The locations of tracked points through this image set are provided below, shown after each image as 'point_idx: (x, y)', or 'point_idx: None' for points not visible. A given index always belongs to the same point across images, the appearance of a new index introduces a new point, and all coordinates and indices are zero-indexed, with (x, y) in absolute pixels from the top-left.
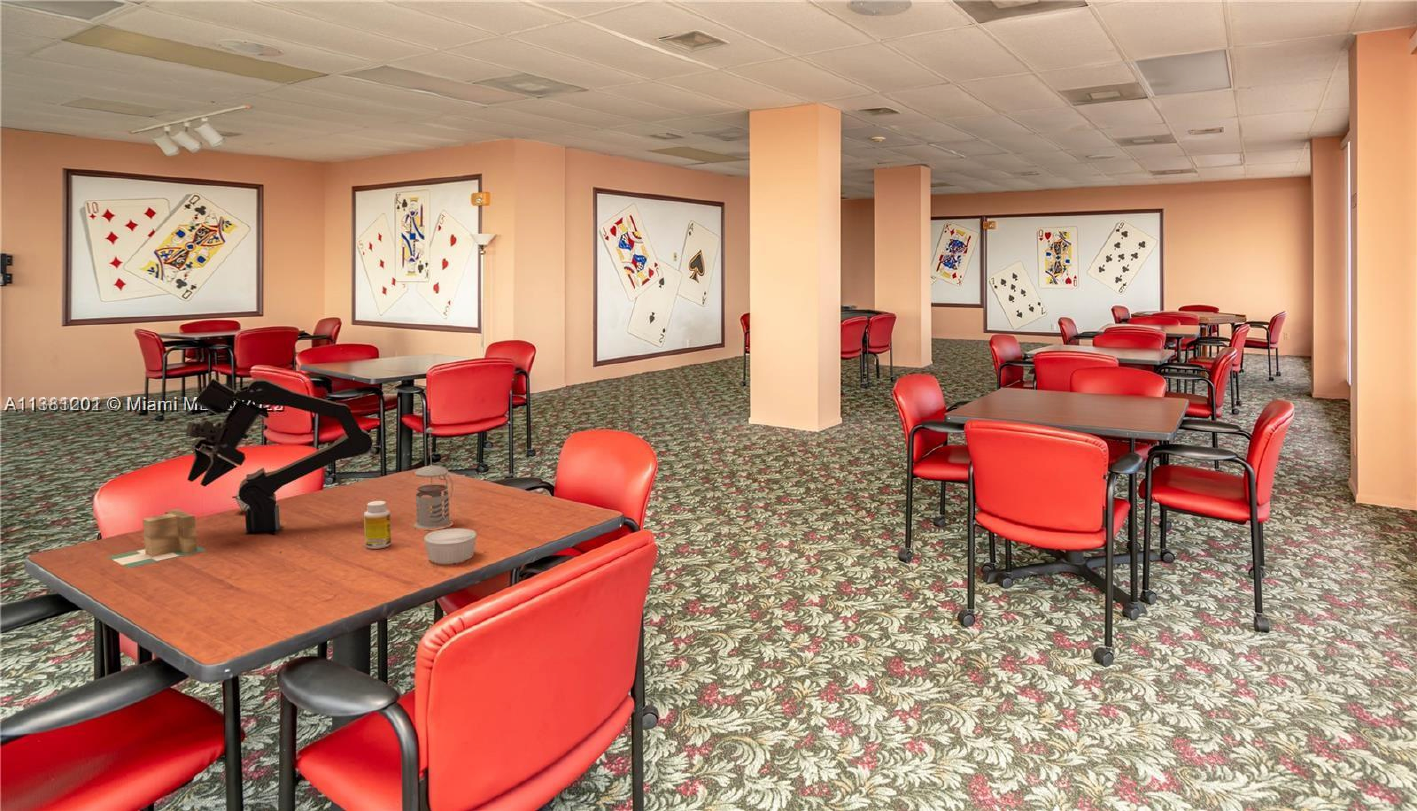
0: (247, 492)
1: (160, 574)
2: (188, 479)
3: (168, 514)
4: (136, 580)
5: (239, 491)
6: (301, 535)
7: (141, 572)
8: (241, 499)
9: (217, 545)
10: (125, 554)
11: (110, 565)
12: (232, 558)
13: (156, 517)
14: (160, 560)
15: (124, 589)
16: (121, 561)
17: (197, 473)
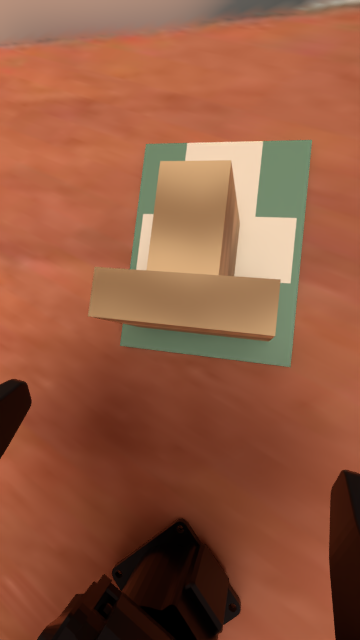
0: (55, 636)
1: (51, 185)
2: (344, 474)
3: (207, 262)
4: (57, 134)
5: (103, 629)
6: (41, 603)
7: (103, 162)
8: (120, 597)
9: (162, 402)
10: (287, 184)
11: (233, 132)
12: (18, 350)
13: (199, 206)
14: (137, 221)
15: (22, 98)
16: (220, 151)
17: (346, 592)
